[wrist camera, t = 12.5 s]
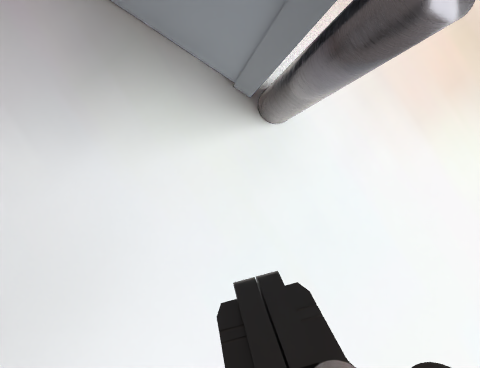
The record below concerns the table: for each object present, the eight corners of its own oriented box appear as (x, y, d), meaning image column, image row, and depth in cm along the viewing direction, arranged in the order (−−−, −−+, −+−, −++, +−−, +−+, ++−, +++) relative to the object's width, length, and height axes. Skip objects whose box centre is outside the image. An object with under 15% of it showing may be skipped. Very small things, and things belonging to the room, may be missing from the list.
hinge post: (288, 84, 29) (467, -73, 12) (296, 119, 30) (487, 15, 12) (254, 91, 29) (389, -63, 11) (263, 127, 29) (411, 29, 11)
